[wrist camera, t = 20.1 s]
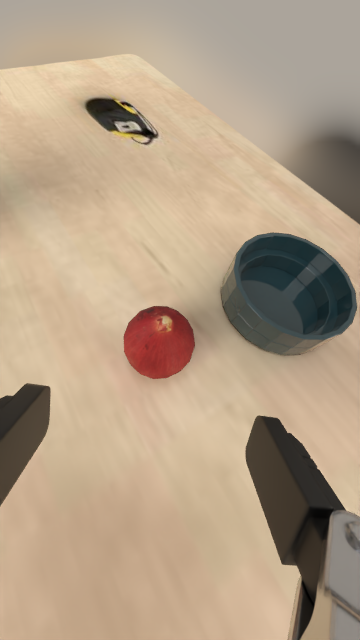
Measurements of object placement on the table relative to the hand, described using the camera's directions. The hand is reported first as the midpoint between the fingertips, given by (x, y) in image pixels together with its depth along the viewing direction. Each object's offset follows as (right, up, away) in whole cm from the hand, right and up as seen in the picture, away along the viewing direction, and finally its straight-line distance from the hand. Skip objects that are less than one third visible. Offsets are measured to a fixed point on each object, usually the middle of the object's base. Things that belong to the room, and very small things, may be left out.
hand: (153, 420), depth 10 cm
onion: (-1, 0, +14) cm, 14 cm away
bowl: (+12, +6, +19) cm, 24 cm away
